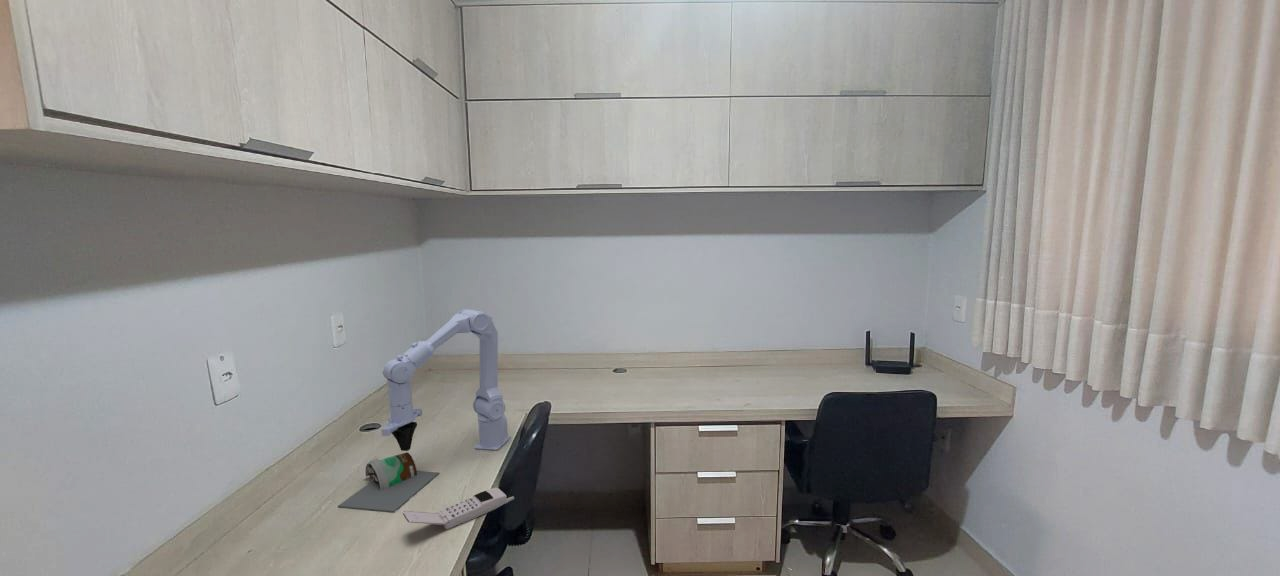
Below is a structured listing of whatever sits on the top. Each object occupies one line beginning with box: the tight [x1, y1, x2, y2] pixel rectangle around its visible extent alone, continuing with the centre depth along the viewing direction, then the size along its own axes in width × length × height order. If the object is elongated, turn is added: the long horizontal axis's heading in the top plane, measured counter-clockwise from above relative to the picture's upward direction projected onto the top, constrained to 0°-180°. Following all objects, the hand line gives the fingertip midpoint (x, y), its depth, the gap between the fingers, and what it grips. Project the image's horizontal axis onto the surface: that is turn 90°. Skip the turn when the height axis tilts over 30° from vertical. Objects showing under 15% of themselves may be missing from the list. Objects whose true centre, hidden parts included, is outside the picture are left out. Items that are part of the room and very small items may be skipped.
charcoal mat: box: [337, 470, 440, 513], centre depth 133 cm, size 19×16×1 cm
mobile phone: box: [402, 487, 515, 530], centre depth 119 cm, size 6×6×25 cm
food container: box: [365, 451, 418, 490], centre depth 139 cm, size 12×6×10 cm
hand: (405, 449), depth 139 cm, fingers closed
